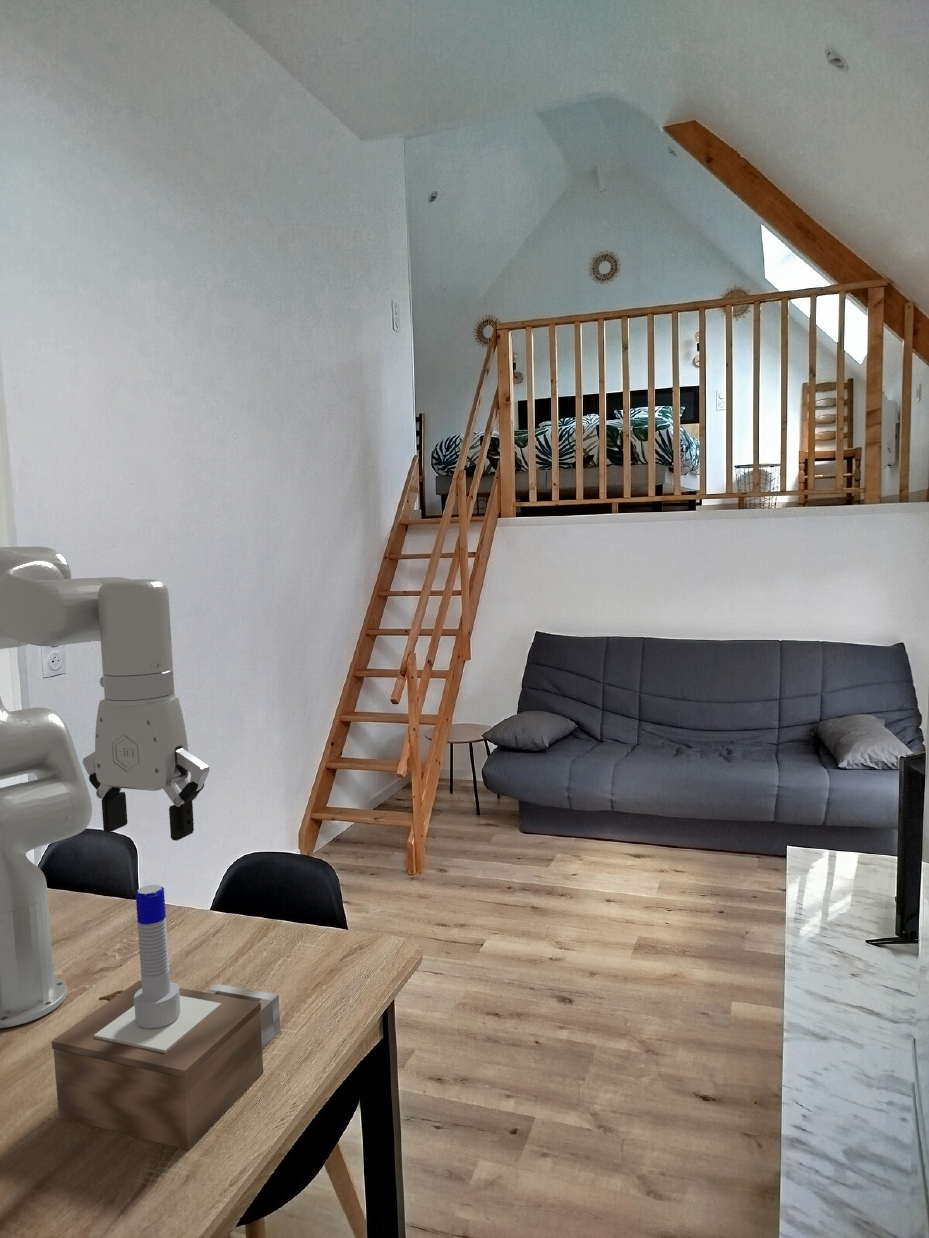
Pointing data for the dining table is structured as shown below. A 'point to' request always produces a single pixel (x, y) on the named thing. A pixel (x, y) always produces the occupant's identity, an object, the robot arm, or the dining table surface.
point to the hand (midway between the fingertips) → (148, 832)
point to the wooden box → (165, 1068)
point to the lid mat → (161, 1037)
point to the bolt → (154, 962)
